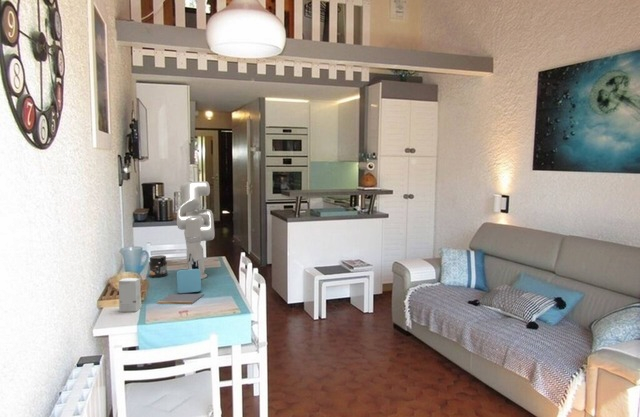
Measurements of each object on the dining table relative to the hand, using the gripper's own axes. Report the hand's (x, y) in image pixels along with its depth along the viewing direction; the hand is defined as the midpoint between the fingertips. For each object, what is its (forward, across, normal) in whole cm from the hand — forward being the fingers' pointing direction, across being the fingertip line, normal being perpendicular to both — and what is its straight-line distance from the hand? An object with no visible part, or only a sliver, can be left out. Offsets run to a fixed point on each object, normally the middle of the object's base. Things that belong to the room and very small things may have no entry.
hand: (195, 273), depth 245 cm
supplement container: (+9, -28, -36) cm, 47 cm away
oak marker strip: (+9, +26, 0) cm, 28 cm away
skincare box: (+9, +37, -17) cm, 41 cm away
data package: (+8, +9, 0) cm, 12 cm away
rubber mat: (+9, +19, 0) cm, 21 cm away
